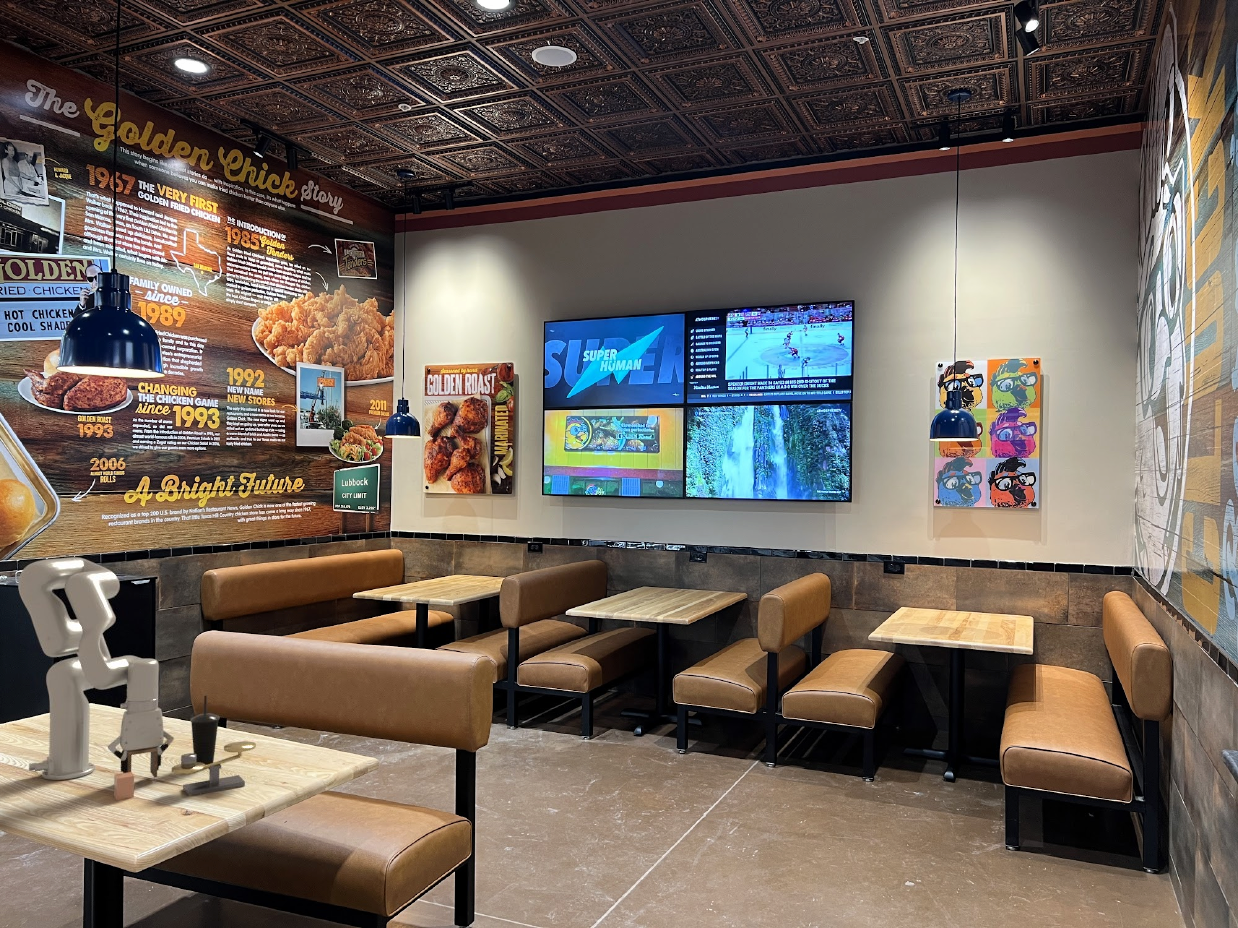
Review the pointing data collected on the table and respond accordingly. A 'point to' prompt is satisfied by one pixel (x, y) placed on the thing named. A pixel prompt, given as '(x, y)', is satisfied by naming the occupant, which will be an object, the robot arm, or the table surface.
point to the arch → (152, 764)
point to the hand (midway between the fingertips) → (140, 770)
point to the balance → (212, 770)
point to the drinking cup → (204, 735)
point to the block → (123, 785)
